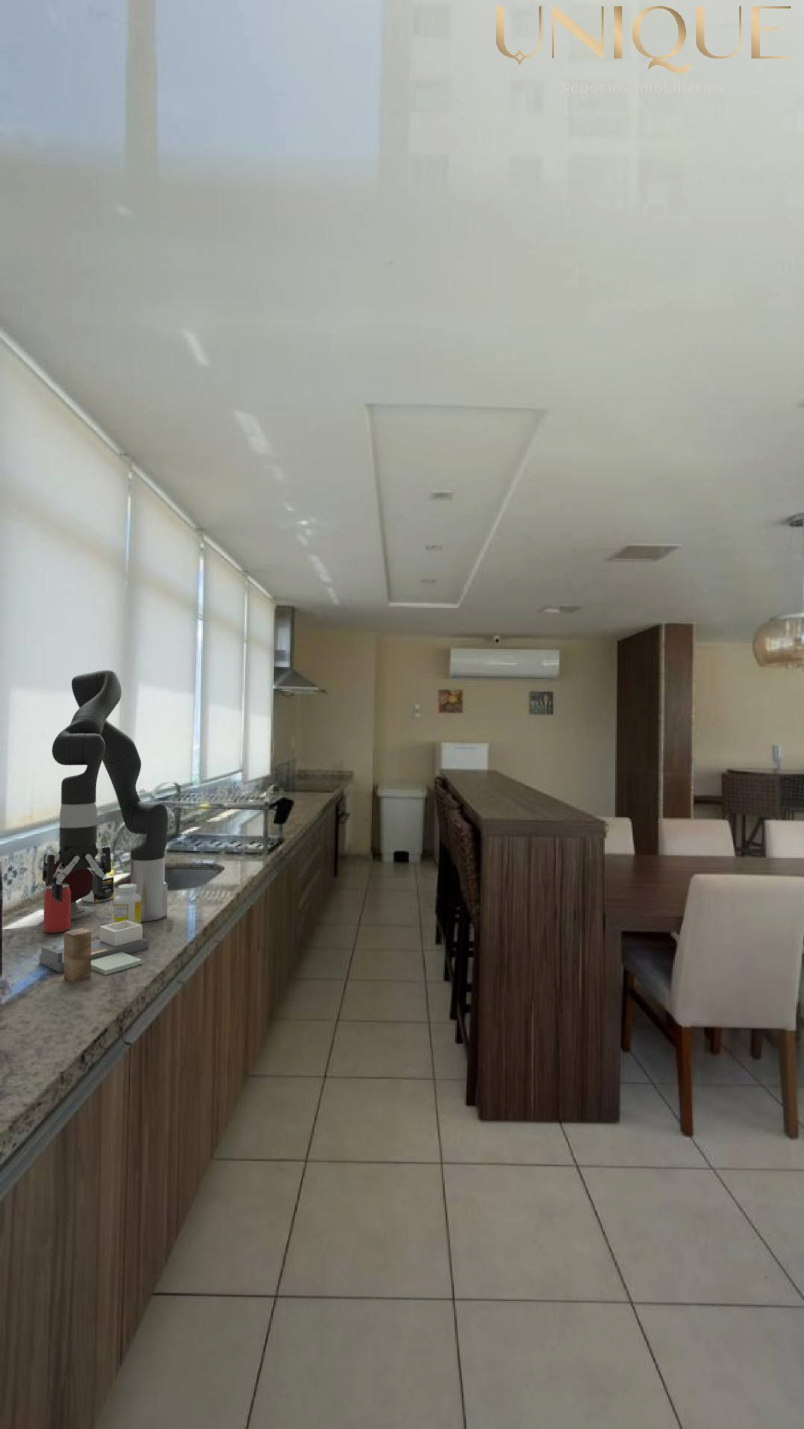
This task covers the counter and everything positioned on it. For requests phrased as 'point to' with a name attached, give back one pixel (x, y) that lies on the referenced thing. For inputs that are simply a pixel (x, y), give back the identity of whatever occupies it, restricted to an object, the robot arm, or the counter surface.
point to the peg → (77, 954)
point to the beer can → (57, 911)
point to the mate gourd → (78, 889)
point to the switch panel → (98, 950)
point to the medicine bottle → (106, 889)
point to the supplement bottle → (127, 904)
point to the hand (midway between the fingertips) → (77, 897)
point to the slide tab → (120, 933)
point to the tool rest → (114, 963)
